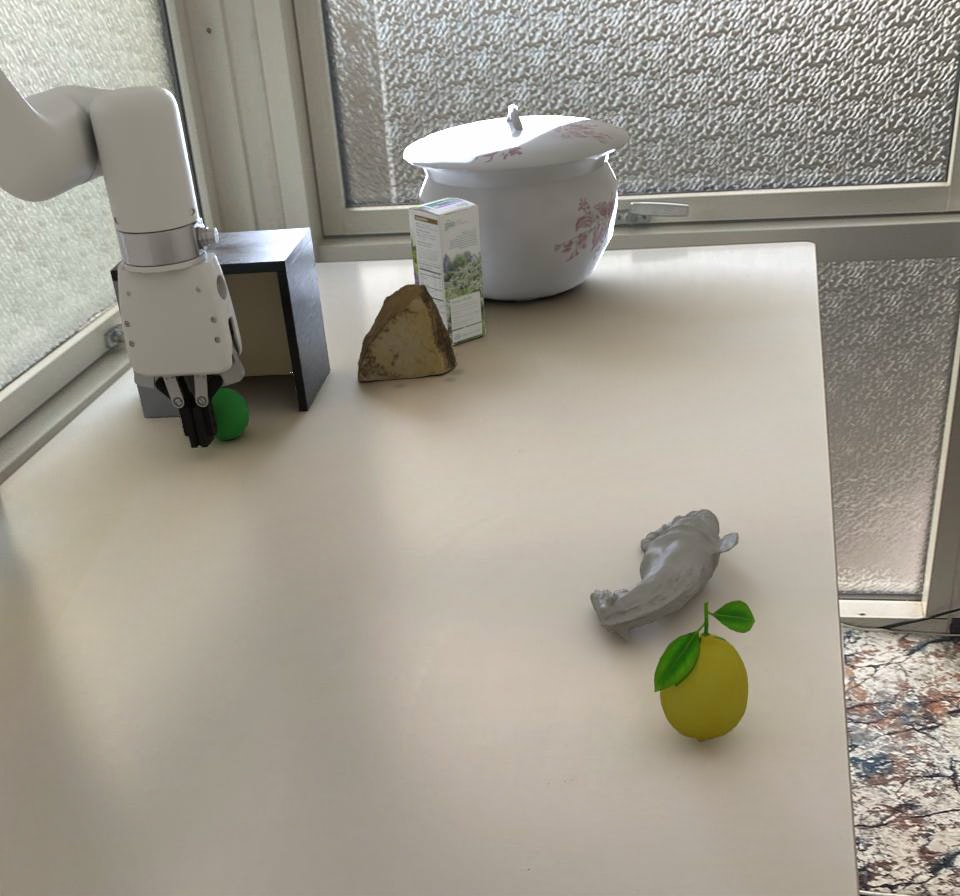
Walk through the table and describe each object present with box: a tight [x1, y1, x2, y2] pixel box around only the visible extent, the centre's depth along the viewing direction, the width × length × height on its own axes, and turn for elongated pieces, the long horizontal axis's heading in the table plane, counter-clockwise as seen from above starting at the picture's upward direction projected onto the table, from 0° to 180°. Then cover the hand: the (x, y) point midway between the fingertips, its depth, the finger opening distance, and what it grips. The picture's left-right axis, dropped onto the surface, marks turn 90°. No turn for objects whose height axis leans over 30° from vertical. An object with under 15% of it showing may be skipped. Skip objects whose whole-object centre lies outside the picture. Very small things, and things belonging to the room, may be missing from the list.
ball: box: [212, 387, 250, 441], centre depth 135 cm, size 5×5×5 cm
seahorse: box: [589, 508, 740, 641], centre depth 102 cm, size 5×12×20 cm
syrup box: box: [408, 198, 486, 347], centre depth 152 cm, size 6×6×14 cm
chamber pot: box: [402, 103, 630, 302], centre depth 165 cm, size 28×28×21 cm
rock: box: [357, 283, 458, 382], centre depth 146 cm, size 11×9×10 cm
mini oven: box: [109, 227, 331, 419], centre depth 142 cm, size 18×14×15 cm
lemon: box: [653, 599, 756, 742], centre depth 83 cm, size 7×6×10 cm
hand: (203, 442), depth 132 cm, fingers closed
